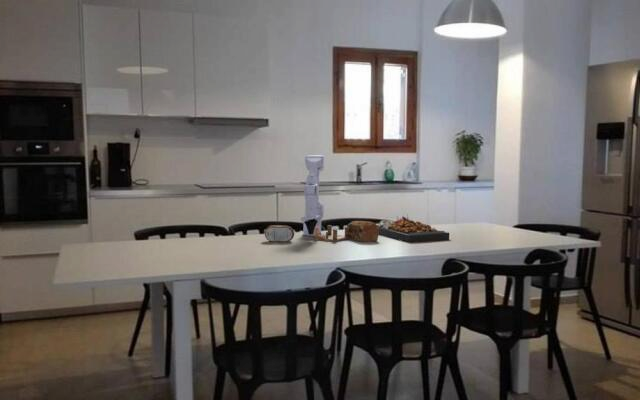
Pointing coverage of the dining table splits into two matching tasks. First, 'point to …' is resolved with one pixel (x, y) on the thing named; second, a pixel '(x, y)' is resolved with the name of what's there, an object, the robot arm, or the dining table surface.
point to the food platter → (410, 231)
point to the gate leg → (318, 233)
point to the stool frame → (334, 235)
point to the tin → (279, 233)
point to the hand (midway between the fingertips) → (310, 234)
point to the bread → (363, 231)
